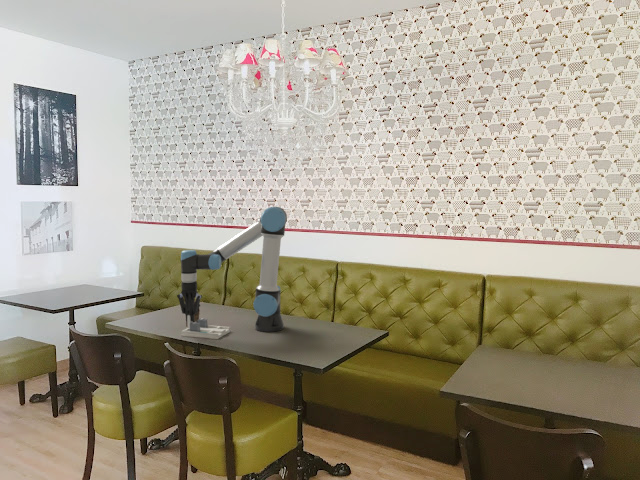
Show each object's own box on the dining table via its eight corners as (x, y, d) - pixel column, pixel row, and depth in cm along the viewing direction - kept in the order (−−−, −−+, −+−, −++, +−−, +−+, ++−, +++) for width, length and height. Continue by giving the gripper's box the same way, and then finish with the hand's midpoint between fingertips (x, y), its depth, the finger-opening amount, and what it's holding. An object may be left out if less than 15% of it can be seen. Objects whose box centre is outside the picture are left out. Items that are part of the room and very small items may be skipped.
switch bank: (230, 331, 257) (230, 326, 256) (217, 339, 243) (217, 333, 243) (195, 328, 262) (195, 323, 262) (181, 335, 249) (181, 330, 248)
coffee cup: (203, 324, 271) (202, 301, 270) (197, 328, 262) (197, 304, 261) (187, 324, 272) (187, 300, 270) (181, 328, 263) (181, 303, 262)
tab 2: (207, 327, 258) (207, 318, 258) (204, 329, 256) (204, 319, 255) (200, 327, 259) (200, 317, 259) (197, 328, 257) (197, 318, 256)
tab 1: (200, 331, 251) (199, 321, 250) (197, 333, 248) (196, 323, 247) (192, 331, 252) (192, 321, 251) (189, 332, 249) (189, 322, 248)
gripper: (204, 280, 250) (205, 326, 252) (181, 279, 254) (182, 324, 256) (197, 283, 243) (198, 330, 245) (173, 281, 247) (174, 328, 249)
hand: (190, 327), depth 250 cm, fingers closed
